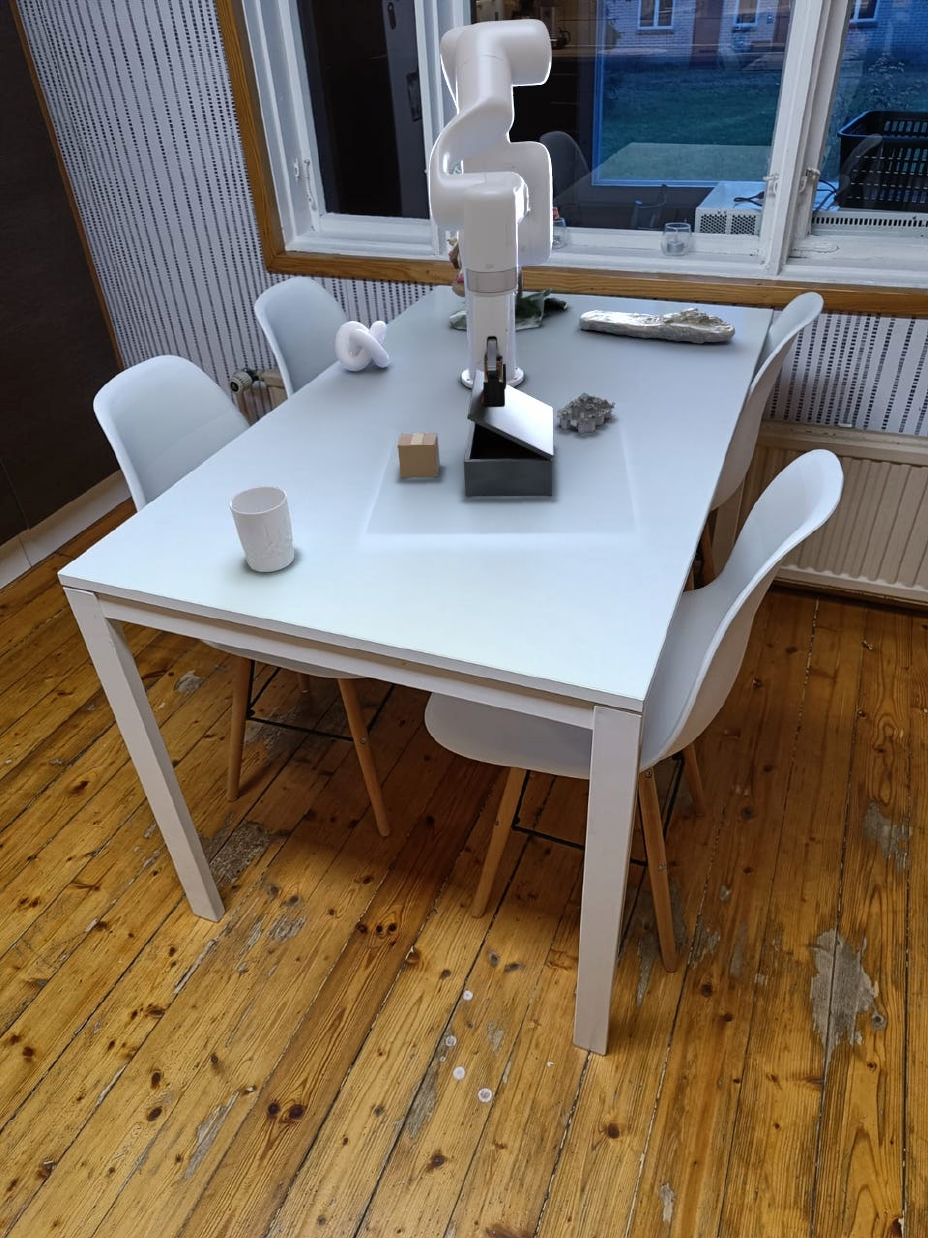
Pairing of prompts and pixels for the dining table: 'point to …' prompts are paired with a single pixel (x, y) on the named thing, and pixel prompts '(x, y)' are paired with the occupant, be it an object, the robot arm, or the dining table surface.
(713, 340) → the long grey stone
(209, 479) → the dining table surface
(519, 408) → the lid
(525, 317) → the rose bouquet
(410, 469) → the package
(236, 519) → the white cup
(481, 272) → the robot arm
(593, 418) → the grey rock
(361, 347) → the white knot sculpture
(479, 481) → the chest
